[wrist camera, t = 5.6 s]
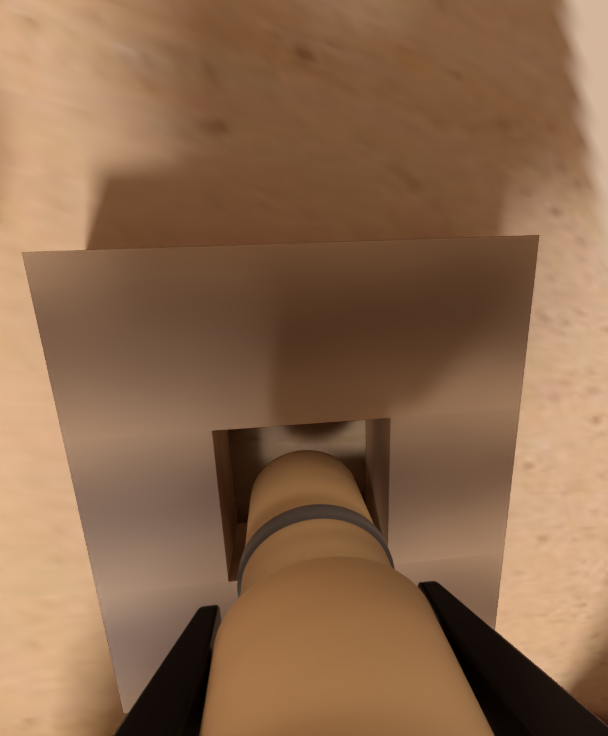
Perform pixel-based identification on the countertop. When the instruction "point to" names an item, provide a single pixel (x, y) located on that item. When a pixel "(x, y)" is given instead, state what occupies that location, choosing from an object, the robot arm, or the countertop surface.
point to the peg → (329, 623)
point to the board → (281, 406)
